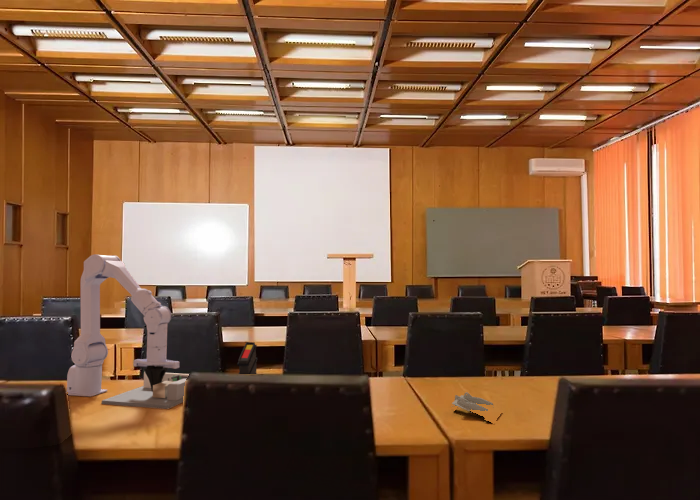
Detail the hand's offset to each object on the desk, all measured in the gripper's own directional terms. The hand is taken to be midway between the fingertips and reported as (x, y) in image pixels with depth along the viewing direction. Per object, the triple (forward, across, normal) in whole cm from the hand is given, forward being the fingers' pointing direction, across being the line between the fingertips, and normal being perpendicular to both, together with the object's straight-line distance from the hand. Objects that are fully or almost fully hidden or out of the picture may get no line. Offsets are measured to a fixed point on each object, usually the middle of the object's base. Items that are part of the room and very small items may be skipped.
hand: (155, 391), depth 156 cm
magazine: (+2, +22, +20) cm, 29 cm away
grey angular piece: (+3, +96, +7) cm, 96 cm away
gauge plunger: (+1, +3, +2) cm, 4 cm away
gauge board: (+2, 0, 0) cm, 2 cm away
